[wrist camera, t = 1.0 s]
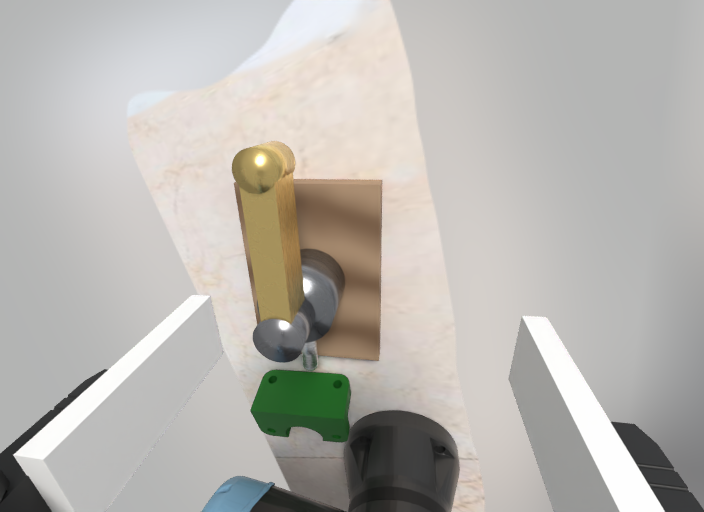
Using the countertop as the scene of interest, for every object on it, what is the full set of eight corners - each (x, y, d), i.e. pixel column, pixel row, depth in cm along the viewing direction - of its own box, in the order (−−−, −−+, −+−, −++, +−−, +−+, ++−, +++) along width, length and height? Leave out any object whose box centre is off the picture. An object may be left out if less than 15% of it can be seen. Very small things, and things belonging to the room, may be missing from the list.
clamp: (296, 373, 50) (253, 427, 44) (288, 347, 47) (239, 404, 41) (367, 410, 45) (329, 478, 39) (364, 385, 41) (321, 456, 35)
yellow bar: (317, 333, 31) (304, 364, 27) (274, 330, 31) (256, 360, 28) (301, 140, 24) (281, 147, 20) (247, 141, 24) (219, 148, 21)
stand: (380, 349, 40) (378, 360, 39) (268, 339, 43) (261, 350, 41) (382, 179, 32) (380, 184, 30) (243, 178, 34) (233, 183, 33)
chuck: (347, 353, 39) (337, 393, 34) (289, 347, 40) (270, 386, 35) (344, 249, 34) (331, 278, 28) (276, 247, 35) (251, 274, 29)
